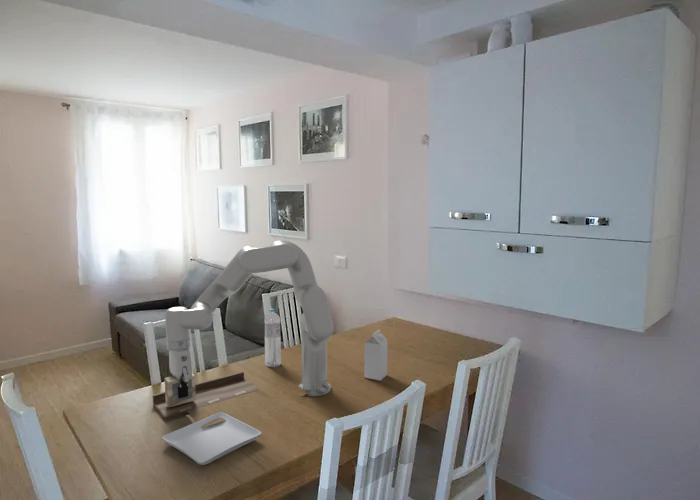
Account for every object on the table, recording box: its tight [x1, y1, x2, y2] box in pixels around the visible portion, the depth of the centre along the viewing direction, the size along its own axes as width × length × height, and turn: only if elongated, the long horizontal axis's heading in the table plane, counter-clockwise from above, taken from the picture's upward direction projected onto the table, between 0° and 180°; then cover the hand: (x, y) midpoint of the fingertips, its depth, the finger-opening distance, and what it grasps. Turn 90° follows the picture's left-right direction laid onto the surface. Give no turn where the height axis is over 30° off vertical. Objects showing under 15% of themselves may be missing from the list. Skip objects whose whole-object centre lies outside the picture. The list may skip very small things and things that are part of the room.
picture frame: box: [164, 372, 196, 407], centre depth 155 cm, size 4×9×9 cm, turn 129°
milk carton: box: [363, 329, 389, 381], centre depth 183 cm, size 7×7×19 cm
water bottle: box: [263, 308, 282, 368], centre depth 195 cm, size 7×7×25 cm
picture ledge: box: [152, 371, 260, 422], centre depth 162 cm, size 14×34×4 cm, turn 129°
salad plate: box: [161, 411, 262, 466], centre depth 134 cm, size 21×21×3 cm
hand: (180, 393), depth 155 cm, fingers open, 4 cm apart
